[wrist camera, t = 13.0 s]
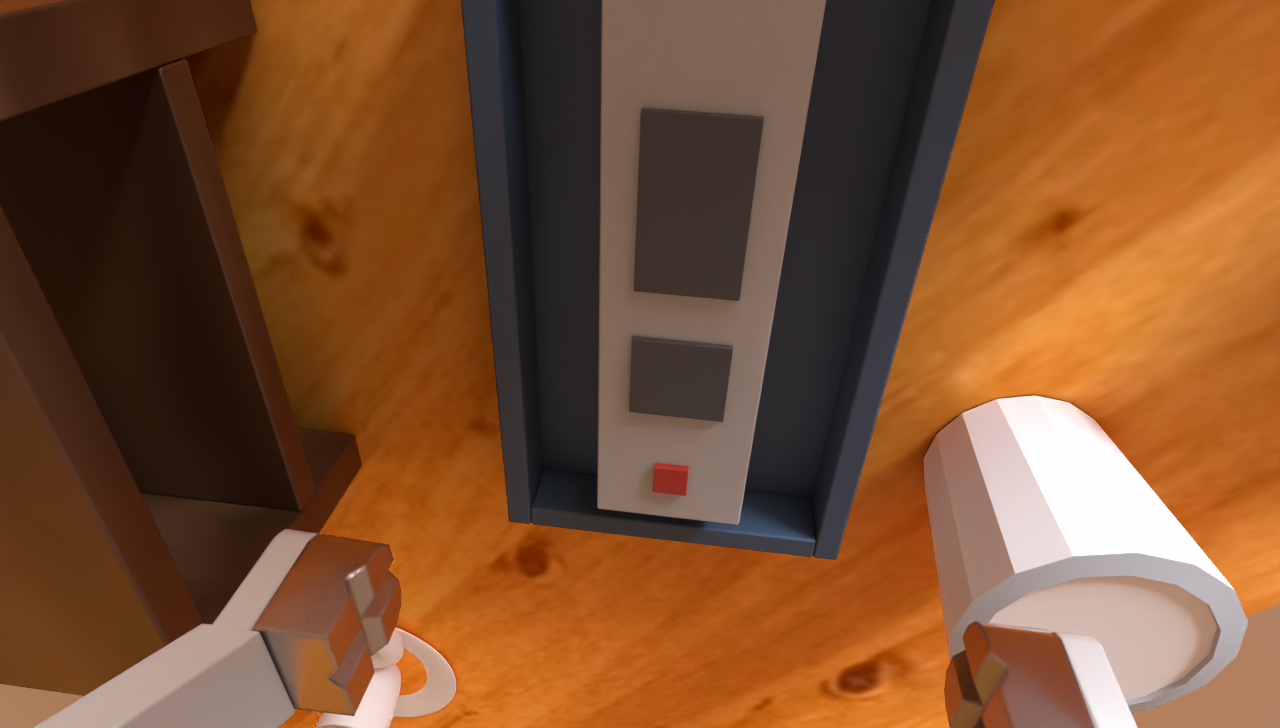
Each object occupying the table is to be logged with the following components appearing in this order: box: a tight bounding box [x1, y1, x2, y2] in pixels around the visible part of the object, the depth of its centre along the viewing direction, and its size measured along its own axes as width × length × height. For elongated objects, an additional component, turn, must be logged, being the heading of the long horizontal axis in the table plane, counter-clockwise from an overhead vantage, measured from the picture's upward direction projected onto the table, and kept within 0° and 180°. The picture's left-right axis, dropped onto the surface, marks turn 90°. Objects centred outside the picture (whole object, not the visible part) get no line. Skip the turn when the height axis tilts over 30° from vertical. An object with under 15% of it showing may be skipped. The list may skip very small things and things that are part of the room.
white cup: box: [923, 395, 1248, 713], centre depth 21 cm, size 7×7×7 cm
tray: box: [461, 0, 995, 560], centre depth 20 cm, size 11×20×3 cm, turn 178°
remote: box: [597, 0, 826, 525], centre depth 19 cm, size 15×4×3 cm, turn 178°
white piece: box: [315, 627, 456, 728], centre depth 34 cm, size 9×8×4 cm
